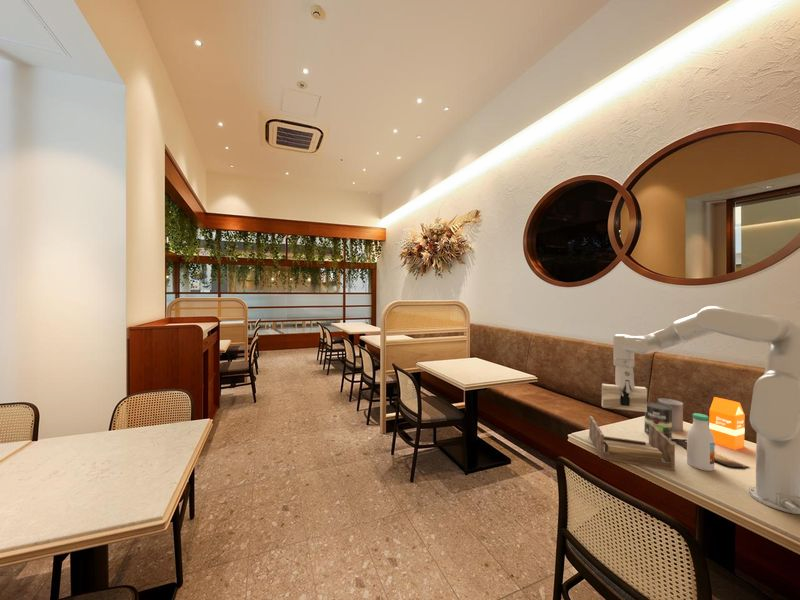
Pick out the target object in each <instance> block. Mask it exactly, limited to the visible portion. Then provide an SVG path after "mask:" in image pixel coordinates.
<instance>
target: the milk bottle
mask: <svg viewBox="0 0 800 600" xmlns="http://www.w3.org/2000/svg"><path fill="white" fill-rule="evenodd" d="M686 440H687V441H686V442H687V449H686V462H687V465H689V466H690V467H692V468H695V469H698V470H701V471H705V472H712V471H714V470H715V460H714V455H715V452H716V451H715V443H714V437H713V434H712V432H711V430H710V428H709V416H708V415H707V414H705V413H704V414H703V413H695V412H694V413H692V424H691V425H690V427H689V429H688V430H687V435H686Z"/></svg>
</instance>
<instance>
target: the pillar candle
mask: <svg viewBox="0 0 800 600" xmlns="http://www.w3.org/2000/svg"><path fill="white" fill-rule="evenodd" d="M657 403H660V404H664V405H667V406H670V407H672V409H673V410H672V432H676V433H677V432H679V433H680V432H681V433H682V432H683V429H684V402H682V401H680V400H677V399H673V398H666V397H665V398H664V397H660V398H657Z"/></svg>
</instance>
